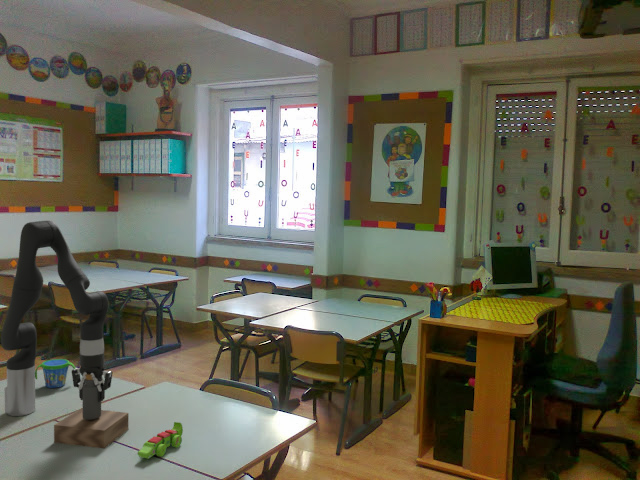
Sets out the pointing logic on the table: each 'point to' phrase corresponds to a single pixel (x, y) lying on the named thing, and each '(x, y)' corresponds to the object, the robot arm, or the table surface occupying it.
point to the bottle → (90, 399)
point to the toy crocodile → (162, 442)
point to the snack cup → (55, 372)
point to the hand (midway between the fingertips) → (92, 400)
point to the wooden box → (91, 429)
